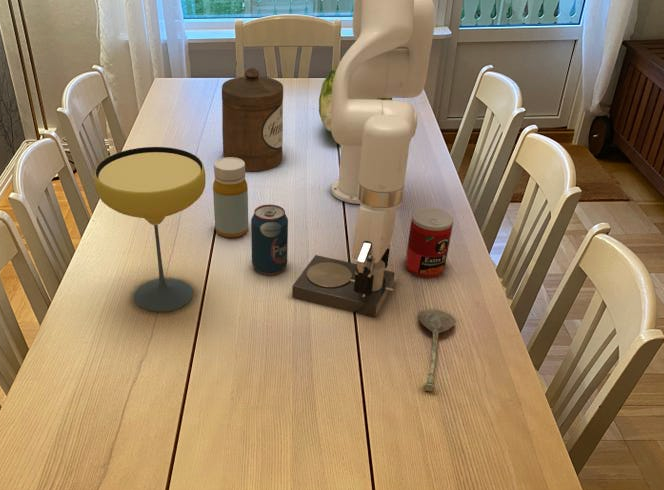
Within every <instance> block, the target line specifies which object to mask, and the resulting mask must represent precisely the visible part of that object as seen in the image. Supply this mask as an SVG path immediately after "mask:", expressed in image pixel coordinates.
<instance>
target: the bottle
mask: <svg viewBox="0 0 664 490" xmlns="http://www.w3.org/2000/svg"><path fill="white" fill-rule="evenodd" d="M213 172H214V180H213V184H212V193H213V194H212V195H213V213H214V228H215V229H214V230H215V232H216V233H217V234H218V235H219V236H221V237H224V238H229V239H234V238H235V239H237V238H240V237H242V236H244V235H245V234H246V233H247V232H248V230H249V188H248V182H247V180H246V171H245V163H244V161H243V160H241V159H239V158H233V157H227V158H223V157H221V158H219V159H216V161H215V162H214V163H213Z"/></svg>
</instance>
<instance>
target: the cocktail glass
mask: <svg viewBox="0 0 664 490" xmlns="http://www.w3.org/2000/svg"><path fill="white" fill-rule="evenodd" d="M93 178H94V180H93V181H94V187H95V191H96V194H97V196H98V198H99V199H100V200H101V202H102V203H103V204H104V205H105V206H106V207H108V208H109V209H111V210H113V211H114V212H117V213H118V214H122V215H125V216H128V217H133V218H140V219H144V220H145V221H147V222H148V224H150V225H152V226H153V227H154V236H155V237H154V238H155V244H156V245H155V247H156V254H157V265H158V278H157V279H152V280H149V281H147V282H145V283H143V284H141V285H140V286H139V287H137V289H136V290H135V292H134V294H133V295H134V296H133V299H134V303H135V304H136V305H137V306H138V307H140V308H141V309H143V310H146V311H148V312H153V313H167V312H168V313H169V312H174V311H176V310H179V309H181V308H183V307H185V306H186V305H188V304H189V303H190V302H191V300H192V299H193V294H194V292H193V288H192V287H191V285H190V284H188V283H187V282H185V281H183V280H181V279H176V278H170V277H169V278H167V277H166V278H165V275H164V267H163V260H162V259H163V258H162V252H161V243H160V242H161V241H160V235H159V225H160V224H161V223H162V222H164V220H165V218H166V217H169V216H172V215H175V214H178V213H180V212H183V211H184V210H187V209H188V208H189V207H191V206H192V205H193V204H195V203H196V202H197V201H198V200H199V199H200V198H201V197H202V195H203V194H204V191H205V188H206V183H207V182H206V181H207V179H206V170H205V166H204V163H203V162H202V160H201V159H200V158H199V157H198V156H197V155H195V154H193V153H192V152H189V151H186V150H183V149H180V148H174V147H166V146H146V147H136V148H132V149H131V148H130V149H126V150H123V151H119V152H116V153H114V154H111V155H109V156H107V157H106V158H104V159H103V160H102V161H100V162H99V163H98V165H97V166H96V168H95V169H94V176H93Z"/></svg>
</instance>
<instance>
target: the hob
mask: <svg viewBox="0 0 664 490" xmlns="http://www.w3.org/2000/svg"><path fill="white" fill-rule="evenodd" d="M325 262H331V263H337V264H341V265H343V266H345V267H347V268H348V269H349V270H350V271H351V273H352V278H351V280H350V282H349V283H348V284H346V285H344V286H341V287H337V288H325V287H320V286H317V285H315V284H313V283H311V282H310V281H309V280H308V278H307V271H308V269H309V268H310V267H312V266H313V265H315V264H319V263H325ZM356 267H357V263H353V262H349V261H344V260H340V259H336V258H330V257H327V256H323V255H317V254H315V255H314V257H313V258H311V260H310V262H309V263H308V264H307V265H306V267H305V268H304V270H303V271H302V272H301V274H300V275H299V277H298V278H297V279H296V280H295V282H294V283H293V285H292V288H291V289H292V290H291V291H292V292H291V293H292V294H291V297H292V298H294V299H298V300H303V301H306V302H311V303H315V304H319V305H323V306H326V307H327V306H328V307H331V308H336V309H338V310H339V309H340V310H344V311H348V312H351V313H356V314H359V315H363V316H368V317H372V318H376V317H377V315H378V313H379V312H380V310H381V308H382V306H383V304H384V302H385V301H386V298H387V296H388V294H389V293H390V291H392V292H393V291H394V288H392V287H393V286H394V283H395V277H396V276H395V275H396V272H395V271H390V270H385V269H384V277H383V286H382V288H381V289H380V290H377V291H372V294H371V295H365V294H361V293H357V292H355V291H354V284H355V272H356Z"/></svg>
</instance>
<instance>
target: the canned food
mask: <svg viewBox="0 0 664 490" xmlns="http://www.w3.org/2000/svg"><path fill="white" fill-rule="evenodd" d="M409 225H410V226H409V233H408V241H407V249H406V255H405V267H406V269H407V270H408V271H409V272H410V273H411V274H412V275H414V276H418V277H421V278H435V277H438V276H440V275H441V274H442V273H443V272H444V271H445V268H446V265H447V259H448V253H449V247H450V242H451V238H452V237H451V236H452V231H453V225H454V217H453V215H451V213H450V212H448V211H446V210H444V209H441V208H436V207H420V208H418V209H416V210H414V211H413V212H412V215H411V219H410V224H409Z"/></svg>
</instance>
